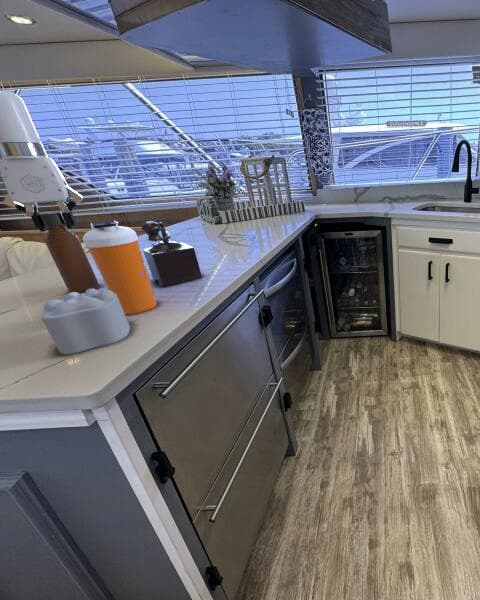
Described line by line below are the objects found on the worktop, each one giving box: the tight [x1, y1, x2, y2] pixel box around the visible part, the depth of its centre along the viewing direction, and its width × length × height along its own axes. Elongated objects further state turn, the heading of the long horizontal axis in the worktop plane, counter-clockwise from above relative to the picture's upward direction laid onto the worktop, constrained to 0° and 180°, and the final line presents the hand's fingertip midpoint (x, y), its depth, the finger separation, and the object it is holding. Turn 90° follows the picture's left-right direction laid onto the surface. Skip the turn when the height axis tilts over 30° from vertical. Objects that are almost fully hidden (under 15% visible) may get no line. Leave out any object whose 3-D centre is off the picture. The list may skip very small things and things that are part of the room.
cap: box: [38, 211, 66, 226], centre depth 82 cm, size 4×4×3 cm
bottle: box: [44, 225, 101, 294], centre depth 86 cm, size 6×6×20 cm
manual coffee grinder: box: [141, 221, 202, 287], centre depth 90 cm, size 16×11×18 cm
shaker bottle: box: [82, 219, 158, 315], centre depth 72 cm, size 9×9×20 cm
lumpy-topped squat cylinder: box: [40, 289, 131, 355], centre depth 62 cm, size 10×13×9 cm
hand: (58, 228), depth 83 cm, fingers open, 4 cm apart
